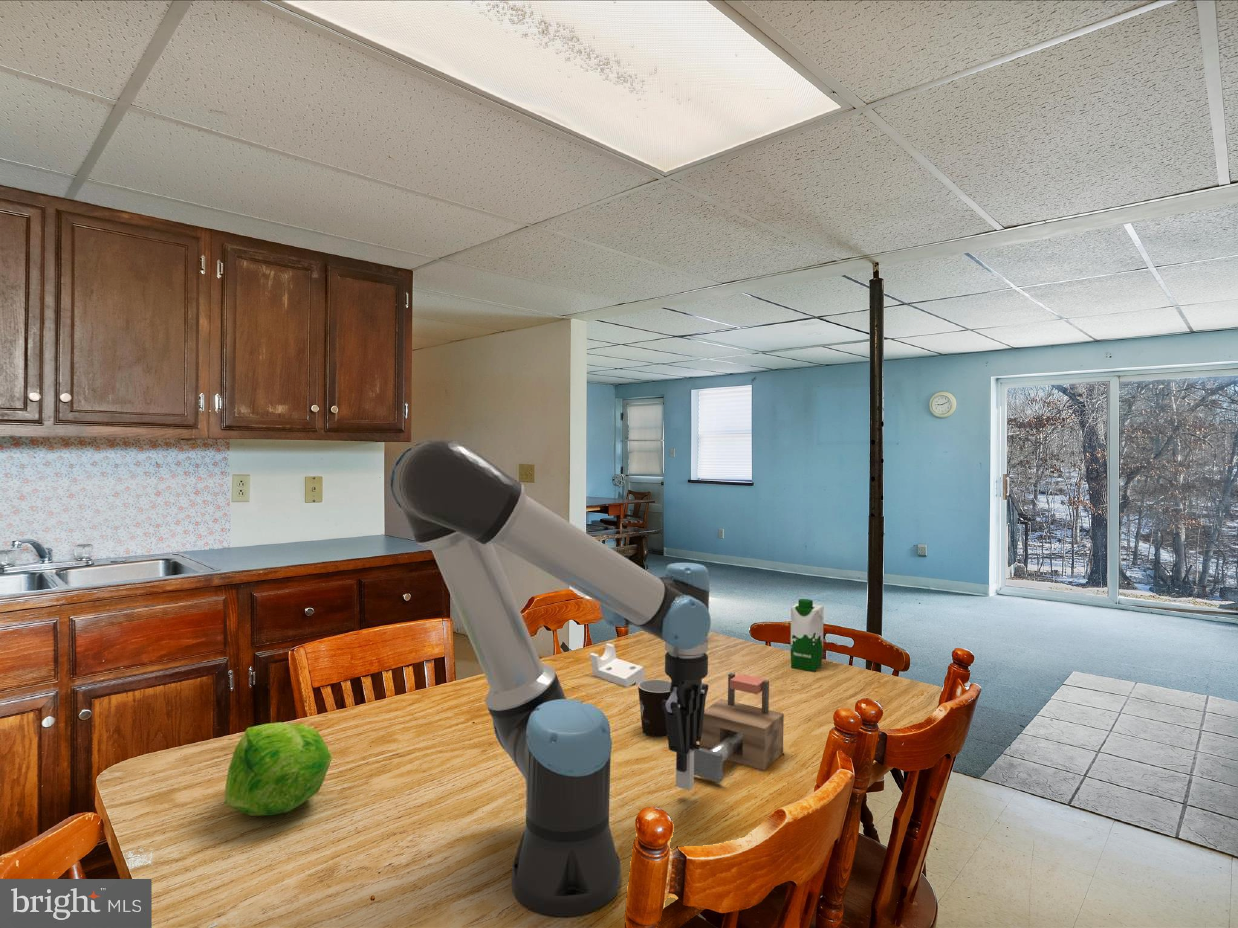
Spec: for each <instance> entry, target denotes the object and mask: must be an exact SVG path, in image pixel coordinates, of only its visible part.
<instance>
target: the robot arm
mask: <svg viewBox="0 0 1238 928" xmlns="http://www.w3.org/2000/svg"><path fill="white" fill-rule="evenodd" d="M389 478H390V482H389V484H390V485H389V486H390V487H389V488H390V492H391V496H392V497H393V500H394V502H395V503H396V504H397V505H398V507H399V508H401V510H402V512H403V514H404V517H405V519H406V521H407V523H408V525H409V527H410V530H411V531H410V532H411V533H412V535H413V537H414V539H415V543H416V544H417V545H419V546H421V547H424V548H427V549H429V550H430V551H432V554H433V557H434V559H435V562H436V564H437V566H438V569H439V572H440V573H441V576H442V577H443V581H444V584H445V585H446V588H447V589H448V593H449V595H450V596H451V599H452V602H453V603H454V606H455V608H456V611H457V613H458V615H459V618H460V620H461V622H462V624H463V625H462V626H463V627H464V629H465V632H466V634H467V637H468V639H469V642H470V644H471V645H472V648H473V651H474V653H475V656H476V658H477V660H478V662H479V666H481V669H482V673H483V674H484V676H485V677H484V678H486V679H485V680H486V681H487V684H488V687H489V689H488V692H487V694H486V696H485V701H484V702H485V706H486V707H487V709H488V712H489V714H490V717H491V719H492V726H493V731H494V735H495V737H496V739H497V741H498V743H499V745H500V746H501V748H502V749H503V750H504V751H505V752H506V753H507V755H508V757H509V758H510V759H511V761H512V762H513V763H514V765H515V766H516V767H517V769H518V770H519V772H520V773H521V774H522V776H523V778H524V779H525V785H526V786H525V787H526V788H525V789H526V791H525V827H524V831H523V833H522V836H521V839H520V843H519V844H518V847H517V849H516V850H517V851H516V854H515V857H514V860H513V863H512V868H511V889H512V893H513V894H514V896H515V898H516V899H517V901H518V902H520V903H521V904H522V905H523V906H524V907H526V908H527V909H530V910H531V911H534V912H536V913H538V914H542V915H546V916H551V917H576V916H580V915H586V914H589V913H591V912H595V911H597V910H599V909H601V908H602V907H604V906H606V905H608V904H609V902H611V901H612V900H613V899H614V898H615V896H616V895H617V894H616V893H618V892H619V890H620V886H621V874H622V873H621V872H622V871H621V870H622V869H621V867H622V866H621V861H620V857H619V854H618V853H617V850H616V846H615V843H614V842H615V841H614V838H613V834H612V831H611V827H610V799H611V798H610V796H611V795H610V790H611V787H610V786H611V759H612V758H611V754H612V747H613V744H612V743H613V740H612V737H611V736H612V735H611V725H610V722H609V719H608V718H607V716H606V714H605V713H604V712H603V711H602V710H601V709H600V708H598V707H597V706H595V705H593V704H592V703H589V702H586V703H583V702H582V700H578V699H571V698H570V699H569V698H567V697H566V695H565V692H564V689H563V687H562V685H561V683H560V682H561V681H560V680H559V677H558V675H557V672H556V670H555V668H554V667H553V666H551V665H549V664H546V663H542V662H541V659H540V657H539V654H538V652H537V649H536V647H535V645H534V644H535V643H534V642H533V639H532V637H531V634H530V632H529V630H528V627H527V624H526V623H525V620H524V617H523V615H522V613H521V611H520V608H519V606H518V603H517V600H516V598H515V596H514V593H513V591H512V588H511V586H510V583H509V581H508V577H507V575H506V574H505V571H504V569H503V566H502V563H501V561H500V559H499V555H498V554H497V551H496V549H495V547H494V544H496V545H499V546H500V547H501V548H503V549H505V550H507V551H509V552H510V553H511V554H513V555H516V556H518V557H519V558H521V559H523V560H525V561H526V562H527V563H529V564H531V565H533V566H534V567H536V568H538V569H540V570H542V571H543V572H545V573H547V574H549V575H550V576H552V577H554V578H555V579H557V580H559V581H561V582H563V583H564V584H566V585H568V586H569V587H571V588H573V589H574V590H577V591H578V592H580V593H581V594H583V595H584V596H586V597H588V598H590V599H592V600H593V601H595V602H597V603H599V604H600V605H599V606H600V613H601V616H602V618H603V620H604V622H605V624H607V625H608V626H609V627H621V628H624V627H628V626H632V627H636V628H638V629H640V630H641V631H644V632H646V633H648V634H650V635H653V636H654V637H656V638H658V639H659V640H661V641H663V642H664V649H665V650H666V651H667V652H666V653H664V674H665V675H666V676H668V677H669V678H670V682H671V686H670V694H671V695H670V697H669V699H668V700H663V701H662V708H663V710H664V712H665V720H666V729H667V736H666V737H667V743H668V744H667V745H668V750H669V751H671V752H675V753H676V754H675V755H676V756H675V757H676V758H675V759H676V760H675V762H676V763H675V764H676V765H675V767H676V768H675V770H676V771H675V787H677V788H679V789H682V790H685V791H689V792H690V791H691V790H693V788H694V786H695V785H694V784H695V781H694V780H695V779H694V778H695V777H694V776H695V775H694V749H696V750H699V749H700V745H699V743H698V744H697V742H700V740H701V735H702V726H703V718H704V710H705V709H706V708H705V707H706V699H707V696H708V695H707V694H708V691H709V684H708V683H703V682H702V681H703V679H705V678H706V677H707V676H708V674H709V655H708V654H707V652H708V650H709V642H710V637H709V632H710V630H711V629H710V628H711V625H712V623H711V622H712V620H711V614H710V612H709V611H710V610H709V608H710V605H709V604H710V601H709V600H710V592H711V590H710V577H709V570H708V568H707V567H706V566H705V565H703V564H699V563H694V562H674V563H670V564H668V565H667V566H666V568H665V573H664V576H661V577H657V576H656V575H653V574H652V573H650V572H649V571H647V570H646V569H644V568H643V567H641V566H640V565H638V564H636V563H635V562H633V561H632V560H630V559H628V558H627V557H625V556H623V555H622V554H621V553H619V552H617V551H616V550H614V549H612V548H611V547H609V546H607V545H606V544H604V543H602V542H601V541H599V540H598V539H596V538H595V537H593V536H591V535H590V534H588V533H587V532H585V531H583V530H582V529H580V528H579V527H577V526H576V525H574V524H573V523H571V522H570V521H568V520H567V519H565V518H562V516H560V515H558V514H557V513H555V512H553V511H552V510H550V509H548V508H547V507H545V506H543V504H541V503H539V502H537V501H536V500H534V499H533V498H532V497H529V496H528V495H527V494H526V492H525V488H524V484H523V483H521V482H520V481H518V480H516V479H515V478H513V477H512V476H510V475H509V474H507V473H506V472H505V471H503V470H502V469H501V468H500V467H498V466H496V465H495V464H494V463H493V462H491V461H490V460H488V459H487V458H486V457H484V456H483V455H482V454H481V453H479V452H478V451H477V450H475V449H474V448H473V447H471V446H469V445H467V444H465V443H462V442H460V441H457V440H453V439H436V440H426V441H423V442H422V441H421V442H417V443H416V444H414V445H412V446H410V447H408V448H407V449H406V450H405V451H403V452H402V453H401V454H400V455H399V456H398V458H397V459H396V460H395V463H394V464H393V467H392V469H391V472H390V477H389ZM618 889H619V890H618Z"/></svg>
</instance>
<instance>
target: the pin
mask: <svg viewBox="0 0 1238 928" xmlns="http://www.w3.org/2000/svg"><path fill="white" fill-rule="evenodd" d="M742 746H743V734H742V733H739V732H733V733H732V734H731V735H729V736H728V737H727V738H725V739H724V740H723V741H721V742H720V743H719V744H717V745H716V746H715V747H713V748H712V749H711V750H707V749H703V748H700V749H699V750H696V749H694V776H697V777H700V778H704V779H706V780H709V781H712V782H716V783H717V784H718V783H721V782H722V781H723V763H724V762H725V761H726V759H727V758H728V757H729V756H731V755H732V754H733V753H734V752H736V751H737V750H738V749H739V748H741V747H742Z"/></svg>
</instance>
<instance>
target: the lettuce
mask: <svg viewBox="0 0 1238 928" xmlns="http://www.w3.org/2000/svg"><path fill="white" fill-rule="evenodd" d="M332 759H333V756H332V754H331V751H330V749H329V746H328V745H327V743H326V742H325V740H324V739H323V737H322V736H321V735H320V733H319V731H318V730H317V729H314V728H312V727H309V726H306V725H304V724H297V723H286V722H281V721H279V722H272V723H271V722H270V723H263V724H260V725H255V726H250V727H246V730H245V731H244V734H242V736H241V738H240V740H239V741H238V743H237V745H236V746H235V749H234V752H233V754H232V758H231V761H230V763H229V766H228V769H227V770H228V771H227V777H226V782H225V791H224V792H225V793H224V795H225V796H224V803H225V804H227V806H230V807H231V808H234V809H235V810H237V811H239V812H241V813H242V814H246V815H248V816H250V817H251V816H274V815H278V814H286V813H290V812H291V811H292V810H294V809H296V808H298V807H299V806H300V805H303V804H304V802H306V801H307V800H309V799H310V798H312V797H314V795H317V793H319V791H320V789H321V787H323V784H324V781H325V778H326V776H327V773H328V770H329V767H330V765H331V762H332Z"/></svg>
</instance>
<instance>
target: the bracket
mask: <svg viewBox="0 0 1238 928" xmlns="http://www.w3.org/2000/svg"><path fill="white" fill-rule="evenodd" d="M615 647H616V646H615V645H614V644H612V643H608V642H607V643H606V644H605V650H604V653H602V654H603V655H601V656H600V655H599V654H597V653H595V652H591V653H589V658H590V663H591V669H592V673H593V677H597V678H599V679H602V680H605V681H609V682H610V683H613V684H617V685H618V686H622V687H625V688H630V686H632V685H634V684H635V685H638V684H639V683H640V682H642V681H645V680H646V675H645V668H644V666H641V665H639V664H635V663H632V662H630V661H626V660H623V659H620V658H617V653H616V648H615Z"/></svg>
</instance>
